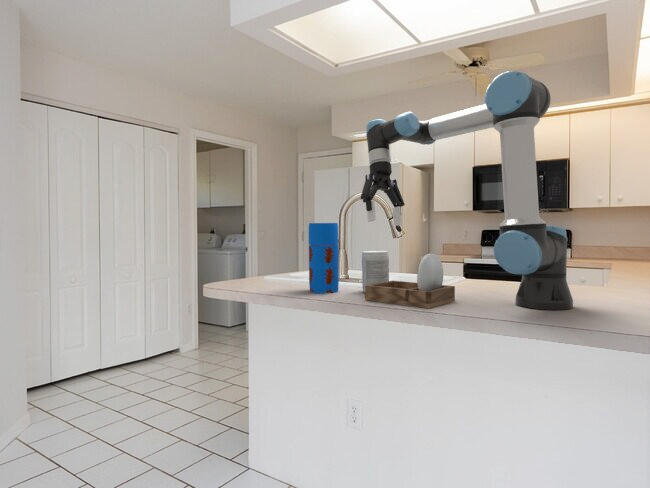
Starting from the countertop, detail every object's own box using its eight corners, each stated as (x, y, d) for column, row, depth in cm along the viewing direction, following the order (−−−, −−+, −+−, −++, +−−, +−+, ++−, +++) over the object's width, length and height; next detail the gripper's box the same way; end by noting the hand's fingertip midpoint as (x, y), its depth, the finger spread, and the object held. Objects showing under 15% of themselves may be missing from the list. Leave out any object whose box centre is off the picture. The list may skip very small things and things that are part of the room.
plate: (443, 296, 142) (443, 252, 141) (420, 302, 132) (420, 255, 131) (439, 296, 143) (439, 252, 142) (417, 302, 132) (417, 254, 132)
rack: (454, 301, 140) (454, 286, 140) (429, 308, 129) (429, 292, 128) (393, 293, 156) (393, 280, 156) (365, 299, 144) (365, 285, 144)
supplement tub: (394, 292, 160) (394, 251, 159) (374, 294, 154) (373, 252, 154) (377, 289, 168) (376, 250, 167) (356, 291, 162) (356, 251, 162)
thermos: (316, 294, 157) (315, 223, 156) (304, 290, 167) (304, 223, 166) (343, 292, 162) (343, 222, 161) (331, 288, 171) (330, 223, 170)
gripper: (394, 173, 167) (399, 229, 163) (347, 160, 151) (351, 221, 147) (410, 167, 162) (416, 224, 158) (363, 152, 145) (368, 216, 141)
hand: (385, 223), depth 152 cm, fingers open, 13 cm apart
